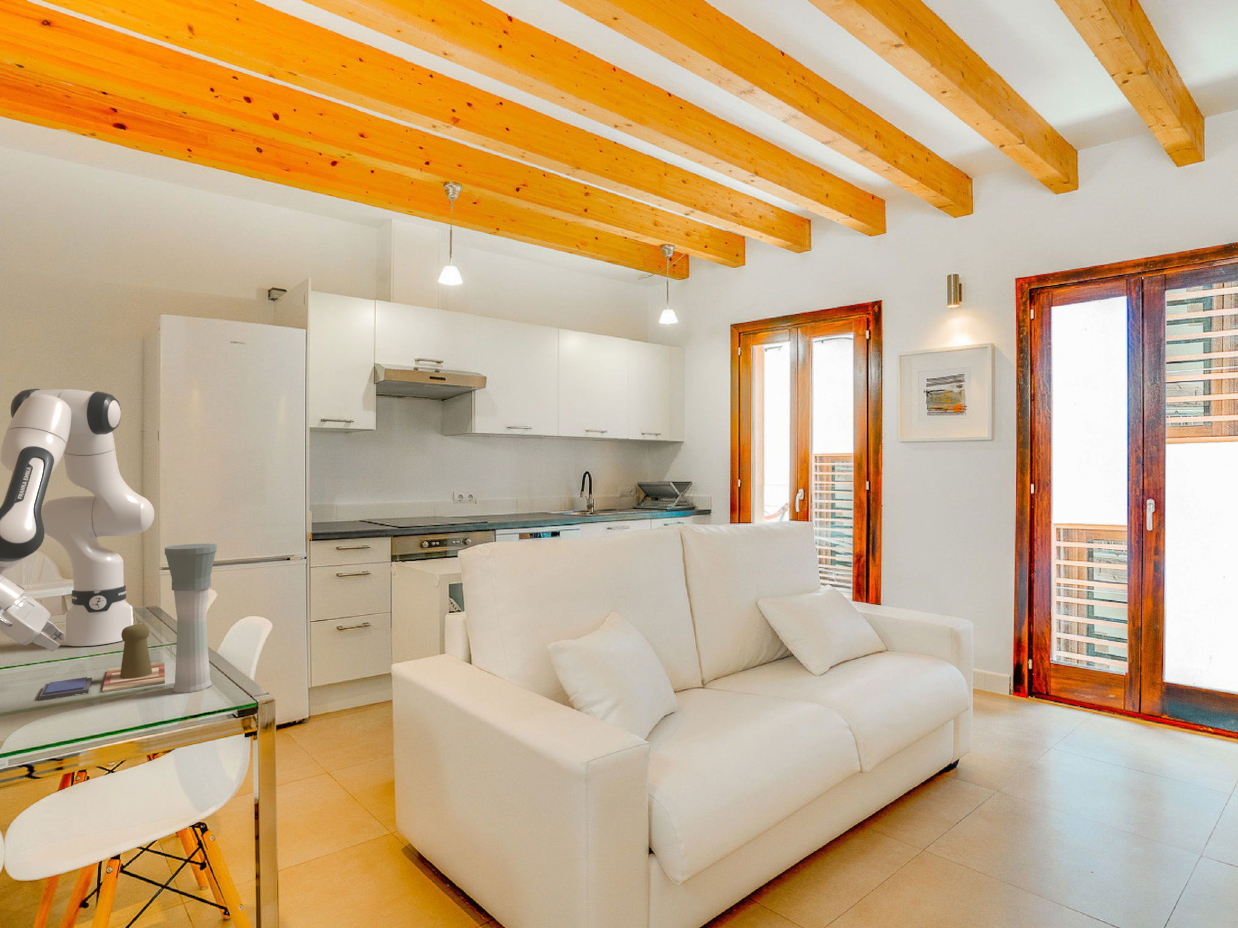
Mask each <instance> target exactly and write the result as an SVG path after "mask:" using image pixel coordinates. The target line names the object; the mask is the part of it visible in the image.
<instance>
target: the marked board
mask: <svg viewBox="0 0 1238 928" xmlns="http://www.w3.org/2000/svg"><path fill="white" fill-rule="evenodd" d="M150 663H151V668H152V673H151V674H150V675H147V676H144V677H139V678H132V679H123V678H120V673H121V667H115V668H109V669H107V672H106V674H105V679H104V683H103V688H102V693H107V692H115V691H120V690H128V689H127V688H129V689H134V688H133V687H136V688H141V687H147V686H153V685H154V686H155V685H161V684H165V682H166V679H165V678H166V675H165V673H166V671H165V668H166V667H165V661H159V662H150Z"/></svg>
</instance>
